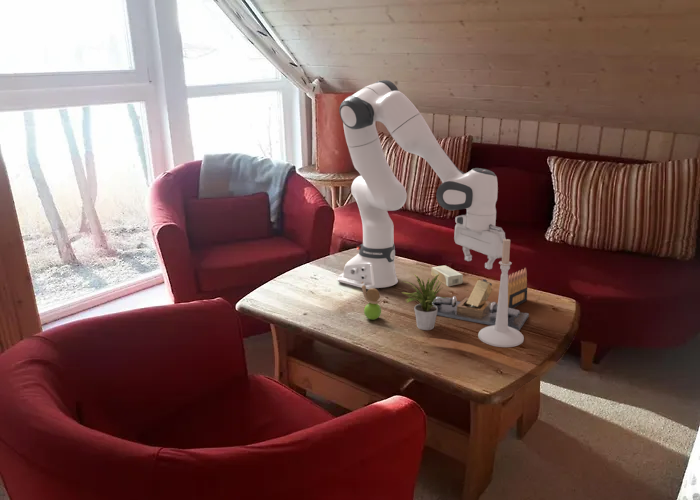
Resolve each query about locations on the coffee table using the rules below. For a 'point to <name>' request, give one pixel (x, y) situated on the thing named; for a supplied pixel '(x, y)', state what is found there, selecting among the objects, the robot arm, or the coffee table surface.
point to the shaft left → (445, 301)
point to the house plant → (425, 303)
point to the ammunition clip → (517, 288)
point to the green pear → (371, 303)
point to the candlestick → (502, 311)
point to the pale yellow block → (479, 294)
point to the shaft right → (511, 312)
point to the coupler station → (478, 314)
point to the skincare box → (447, 275)
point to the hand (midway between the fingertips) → (478, 264)
